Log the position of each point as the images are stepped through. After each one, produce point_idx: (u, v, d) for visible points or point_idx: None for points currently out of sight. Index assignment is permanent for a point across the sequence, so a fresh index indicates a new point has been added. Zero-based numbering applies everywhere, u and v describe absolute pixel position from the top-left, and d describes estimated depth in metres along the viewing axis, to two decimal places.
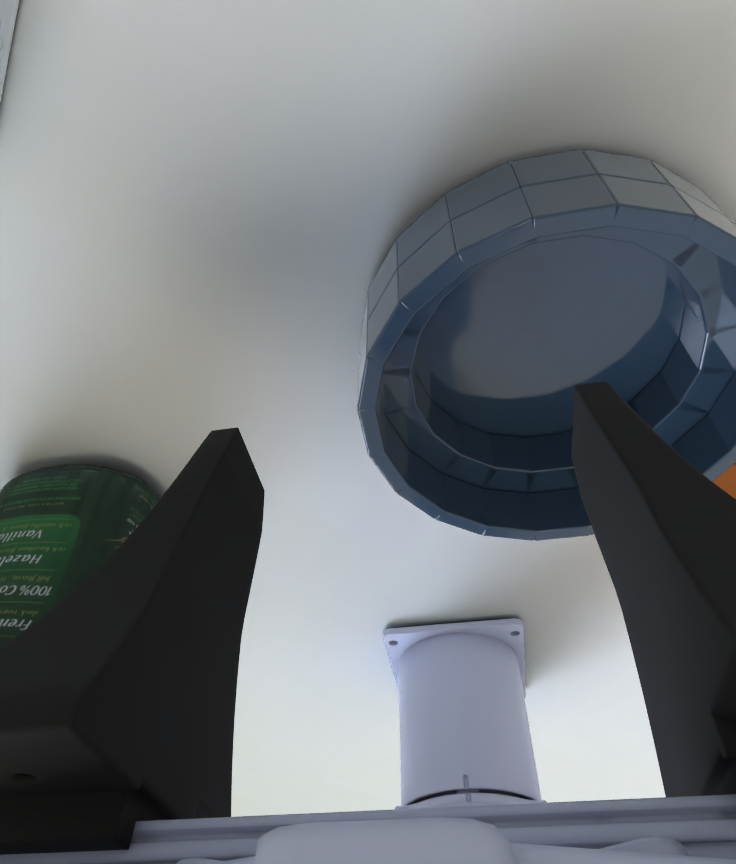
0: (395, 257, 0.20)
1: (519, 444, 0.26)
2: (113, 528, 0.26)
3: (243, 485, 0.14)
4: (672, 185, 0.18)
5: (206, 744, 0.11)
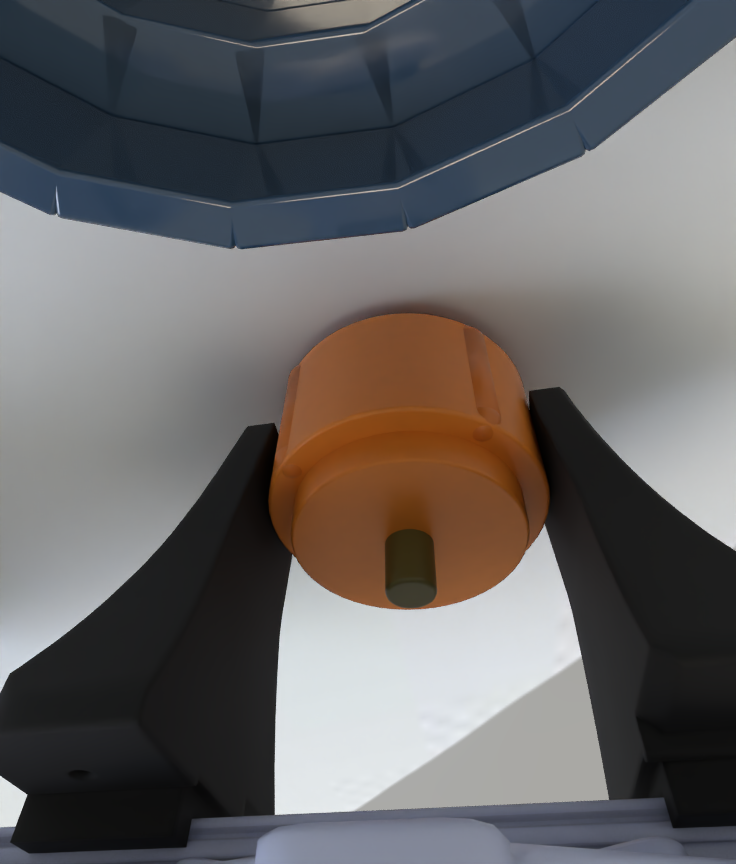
0: None
1: None
2: None
3: None
4: None
5: (252, 741, 0.11)
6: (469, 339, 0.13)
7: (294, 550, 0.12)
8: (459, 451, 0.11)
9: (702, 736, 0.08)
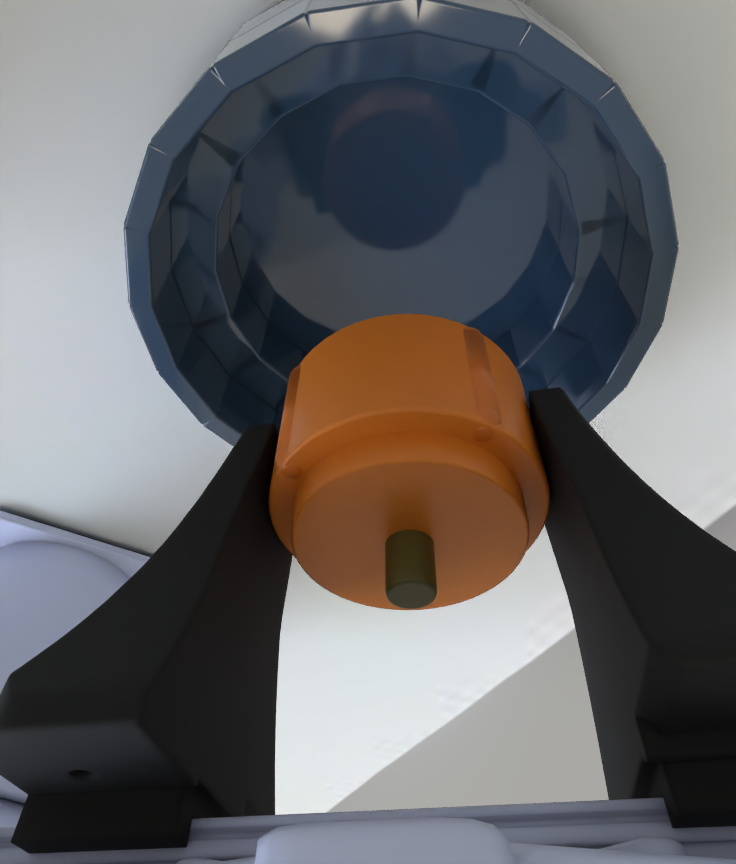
0: None
1: (294, 352, 0.21)
2: None
3: None
4: None
5: (253, 741, 0.11)
6: (469, 340, 0.13)
7: (294, 550, 0.12)
8: (459, 452, 0.11)
9: (702, 736, 0.08)
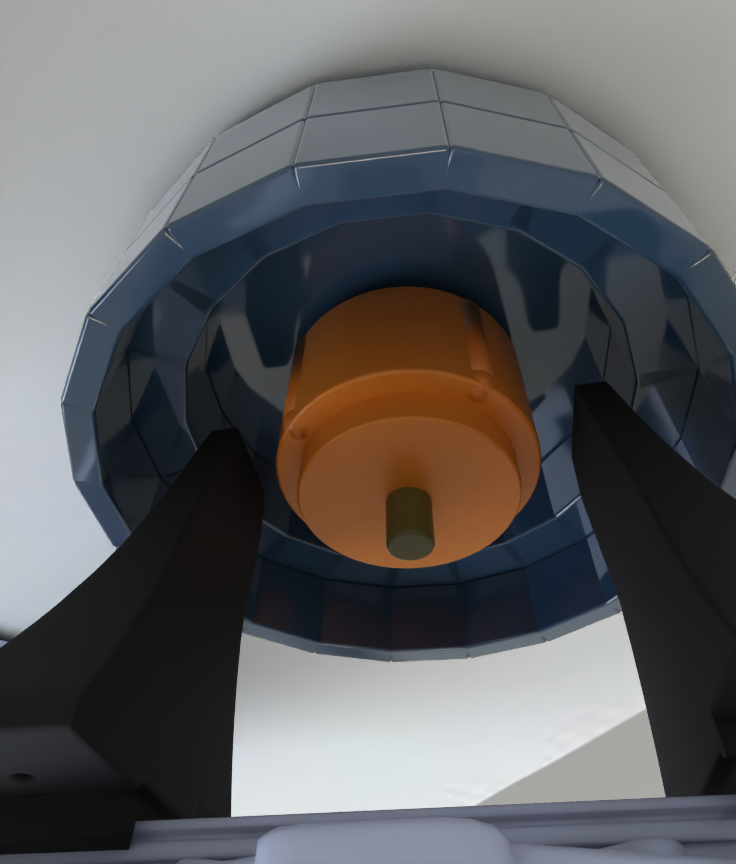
0: (303, 105, 0.11)
1: None
2: None
3: (243, 485, 0.14)
4: None
5: (206, 744, 0.11)
6: (466, 311, 0.13)
7: (300, 508, 0.13)
8: (455, 411, 0.12)
9: None
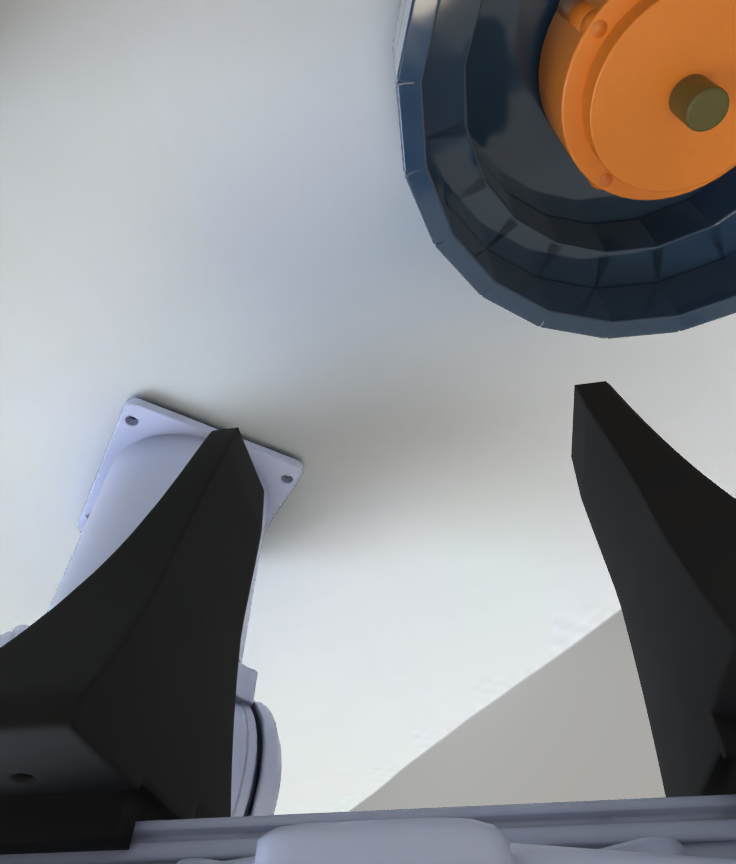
0: None
1: (503, 191, 0.20)
2: None
3: (243, 485, 0.14)
4: None
5: (206, 744, 0.11)
6: None
7: (592, 106, 0.15)
8: None
9: None
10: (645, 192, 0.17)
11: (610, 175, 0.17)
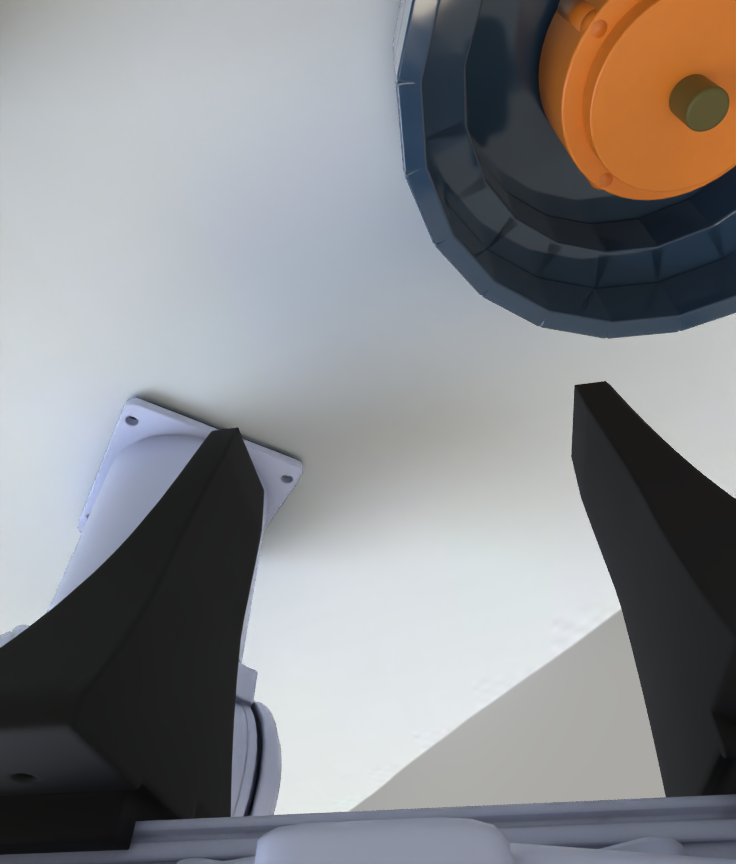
0: None
1: (503, 191, 0.20)
2: None
3: (243, 485, 0.14)
4: None
5: (206, 744, 0.11)
6: None
7: (592, 106, 0.15)
8: None
9: None
10: (645, 192, 0.17)
11: (610, 175, 0.17)
